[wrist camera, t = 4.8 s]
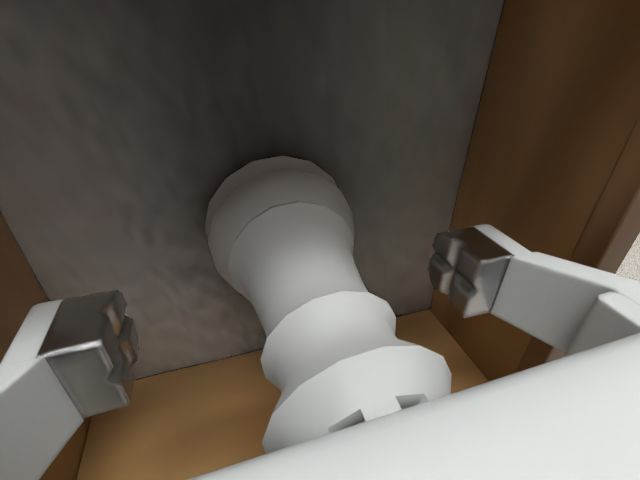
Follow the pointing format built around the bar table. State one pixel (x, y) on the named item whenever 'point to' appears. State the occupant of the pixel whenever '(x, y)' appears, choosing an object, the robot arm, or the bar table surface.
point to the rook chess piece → (313, 303)
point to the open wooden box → (470, 210)
